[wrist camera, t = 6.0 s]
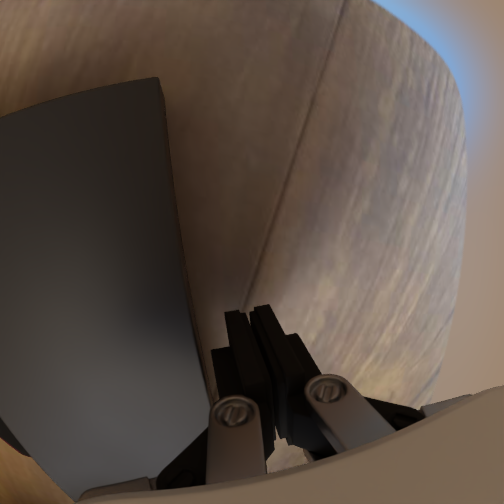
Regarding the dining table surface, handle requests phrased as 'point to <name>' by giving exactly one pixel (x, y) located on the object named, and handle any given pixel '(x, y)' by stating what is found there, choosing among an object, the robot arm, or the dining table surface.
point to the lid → (96, 290)
